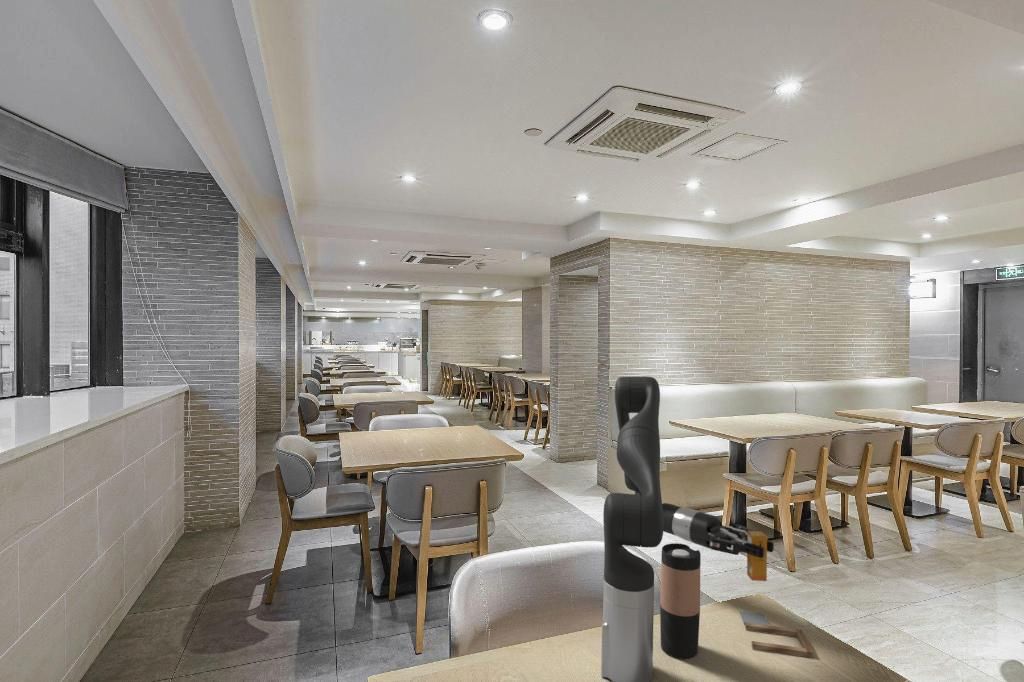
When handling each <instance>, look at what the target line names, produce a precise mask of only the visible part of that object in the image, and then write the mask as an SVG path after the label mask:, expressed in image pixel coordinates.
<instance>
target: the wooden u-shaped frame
mask: <svg viewBox="0 0 1024 682" xmlns="http://www.w3.org/2000/svg"><path fill="white" fill-rule="evenodd" d="M744 628H745V630H746V631H752V632H757V631H758V633H765V632H767V633H766V634H773V633H775V634H773V635H780V634H783V635H782V636H787V635H790V636H789V637H794V636H795V637H796V638H797V639H798V642H799V644H800V645H801V647H798V646H790V645H785V644H784V645H783V644H775V643H770V642H769V643H768V642H761V641H754V640H751V648H752V650H756V651H763V652H768V653H769V652H771V653H777V654H784V655H792V656H796V657H797V656H799V657H804V658H805V657H806V658H810V659H811V658H815V652H814V650H813V649H812V647H811V644H810V643H809V640H808V639H807V638H806V637H807V636H806V635H805V634H804V632H803V630H802V629H796V628H791V627H784V626H783V627H782V626H777V625H769V626H768V625H761V624H753V623H746V622H745V625H744Z"/></svg>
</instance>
